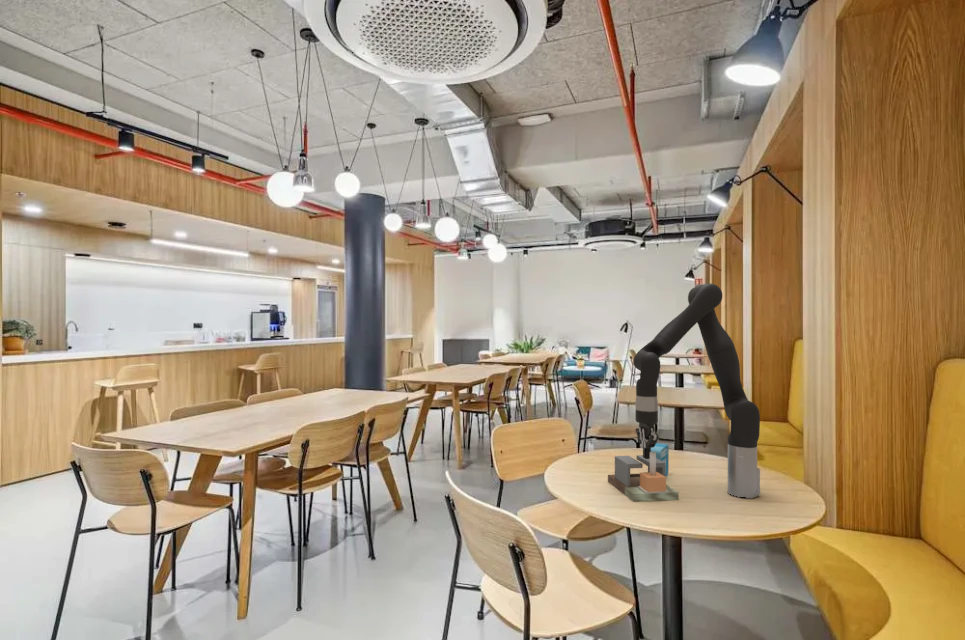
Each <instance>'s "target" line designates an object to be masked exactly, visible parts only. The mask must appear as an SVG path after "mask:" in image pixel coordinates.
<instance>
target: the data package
mask: <svg viewBox="0 0 965 640" xmlns="http://www.w3.org/2000/svg"><path fill="white" fill-rule="evenodd" d="M669 451H670V450H669V444H666V443H657V442H656V444H655V447H652V448H651V452H656V458H657V459H659V460H661V461H663V462H665V477H666V478H667V476H668V474H669Z"/></svg>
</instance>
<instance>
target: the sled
mask: <svg viewBox="0 0 965 640" xmlns="http://www.w3.org/2000/svg"><path fill="white" fill-rule="evenodd" d="M639 474H640V486H638V488H639V489H640V490H641V491H643V492H644V493H646V494H648V493H668V491H667V490H666V485H667V476H666V477H665V476H663V475H662V474H660V473H658V472H656V452H650V472H648V471H647V472H639Z"/></svg>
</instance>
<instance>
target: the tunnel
mask: <svg viewBox="0 0 965 640" xmlns="http://www.w3.org/2000/svg"><path fill="white" fill-rule="evenodd" d="M643 465H646V466H647V472H650V459H645V458H643V454H641V455H640V454H639V455H636V458H634V457H633V456H630V455H615V456H614V474H615V478H616V479H617V480H618V481H620V482H621V483H622V484H624V485H625V486H626V487H630V474H631V469H643ZM656 472H658V473H660V474H662V475H663V476H665V462H663V461H661V460H659V459H657V458H656Z"/></svg>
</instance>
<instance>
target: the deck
mask: <svg viewBox="0 0 965 640" xmlns="http://www.w3.org/2000/svg"><path fill="white" fill-rule="evenodd" d="M607 482H608V483H609V484H610V485H612V486H613V487H614V488H616V489H617V490H618V491H619V490H620V491H619V492H621V493H622V494H623V495H624V496H625V497H627V498H629V500H631V501H632V502H635V503H637V502H638V503H639V502H654V501H657V502H658V501H675V500H676V501H677V500H679V494H680V493H679V491H677V490H676V489H675V488H672V487H671V486H669V485H668V484H666V490H667V491H668V493H648V494H646V493H644V492H643V491H641V490H640V489H639V488H638V486H640V473H630V487H626V486H625V485H624V484H622V483H621V482H620V481H618V480H617V479H616V478H615V473H614V474H608V475H607Z"/></svg>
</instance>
